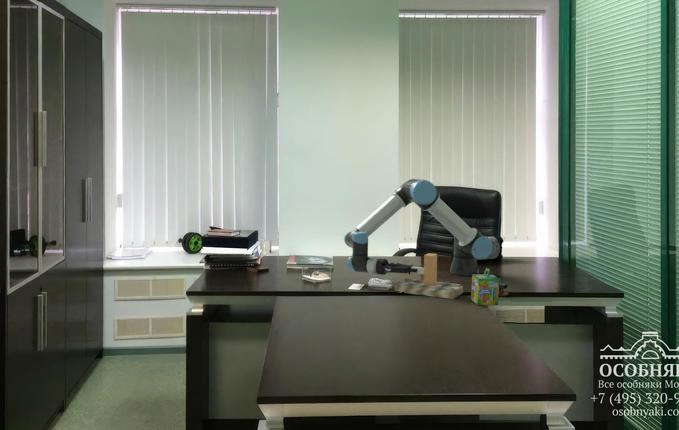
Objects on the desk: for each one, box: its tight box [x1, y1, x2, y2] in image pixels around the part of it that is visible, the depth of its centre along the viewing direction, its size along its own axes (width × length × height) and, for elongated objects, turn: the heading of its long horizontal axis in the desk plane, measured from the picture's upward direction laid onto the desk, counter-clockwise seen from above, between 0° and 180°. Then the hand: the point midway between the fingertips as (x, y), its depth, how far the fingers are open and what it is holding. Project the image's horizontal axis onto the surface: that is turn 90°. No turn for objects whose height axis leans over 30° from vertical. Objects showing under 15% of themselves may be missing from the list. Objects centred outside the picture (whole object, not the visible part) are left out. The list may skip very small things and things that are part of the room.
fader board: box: [394, 278, 464, 300], centre depth 265 cm, size 28×13×4 cm, turn 61°
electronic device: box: [498, 278, 509, 298], centre depth 260 cm, size 4×10×8 cm, turn 44°
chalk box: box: [470, 267, 500, 306], centre depth 245 cm, size 9×9×15 cm
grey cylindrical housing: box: [450, 233, 504, 262], centre depth 345 cm, size 15×29×15 cm, turn 116°
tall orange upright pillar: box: [423, 252, 438, 286], centre depth 264 cm, size 4×6×14 cm, turn 151°
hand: (424, 271), depth 264 cm, fingers closed
